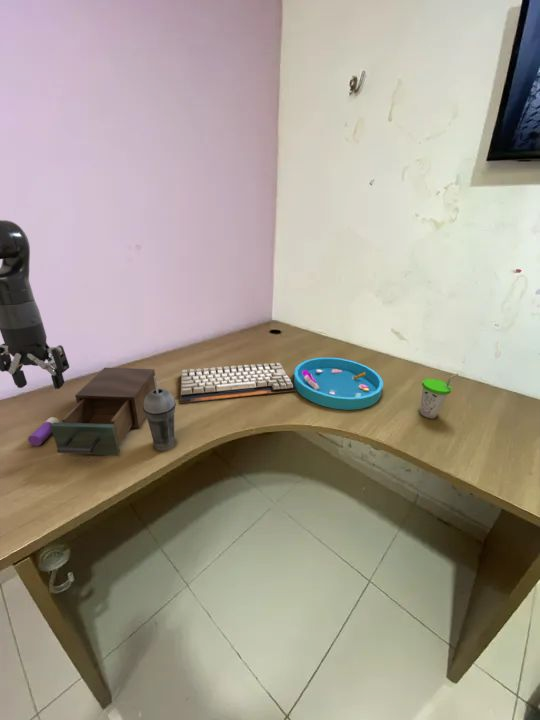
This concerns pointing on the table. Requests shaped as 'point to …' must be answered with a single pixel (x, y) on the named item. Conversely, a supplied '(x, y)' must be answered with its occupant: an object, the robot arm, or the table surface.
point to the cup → (434, 396)
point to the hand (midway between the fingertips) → (41, 386)
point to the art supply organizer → (338, 383)
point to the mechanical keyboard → (233, 382)
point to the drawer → (94, 427)
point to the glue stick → (42, 432)
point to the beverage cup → (160, 417)
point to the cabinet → (121, 388)
